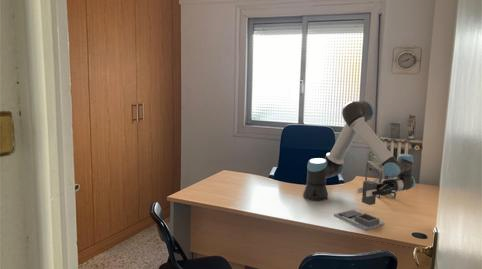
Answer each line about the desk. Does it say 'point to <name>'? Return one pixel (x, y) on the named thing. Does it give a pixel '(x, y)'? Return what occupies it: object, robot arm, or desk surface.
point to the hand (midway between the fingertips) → (362, 192)
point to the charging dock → (359, 219)
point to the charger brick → (366, 187)
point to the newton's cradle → (377, 176)
